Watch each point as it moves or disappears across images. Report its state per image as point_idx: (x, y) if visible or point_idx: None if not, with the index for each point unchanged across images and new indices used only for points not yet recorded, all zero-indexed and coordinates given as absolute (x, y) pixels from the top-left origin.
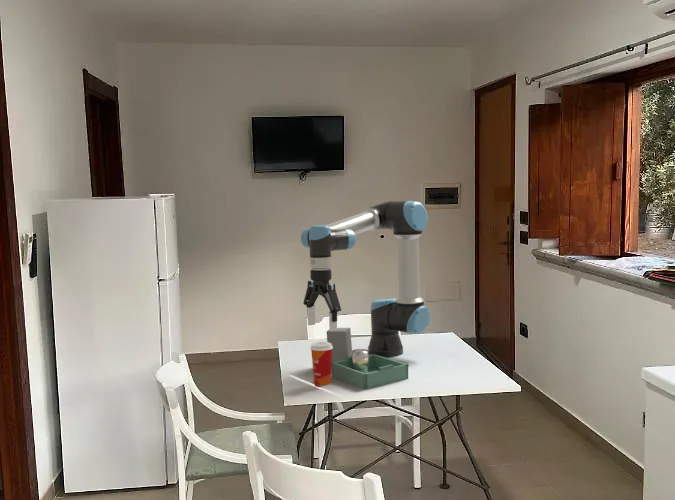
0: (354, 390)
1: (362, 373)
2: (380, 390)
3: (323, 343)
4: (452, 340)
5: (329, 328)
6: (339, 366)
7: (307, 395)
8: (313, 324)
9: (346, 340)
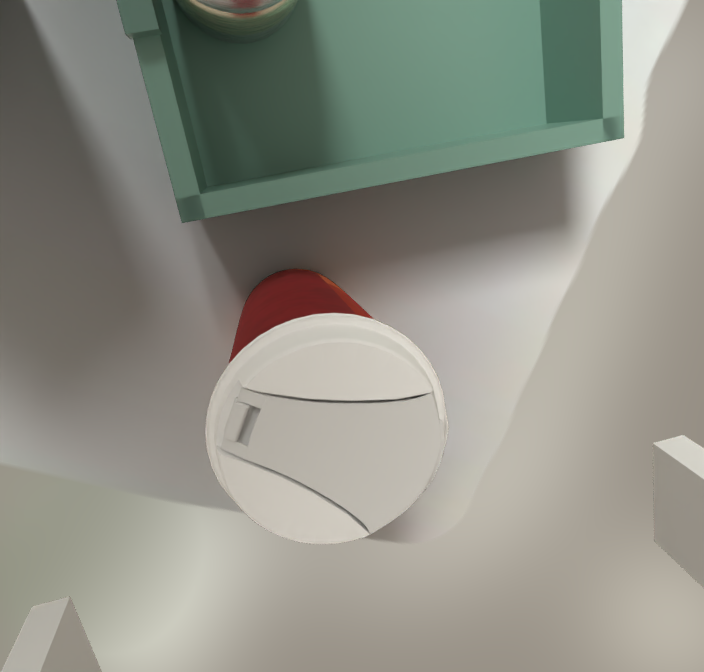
0: (502, 191)
1: (591, 140)
2: None
3: (316, 421)
4: None
5: (680, 565)
6: (297, 200)
7: None
8: (79, 629)
9: None
